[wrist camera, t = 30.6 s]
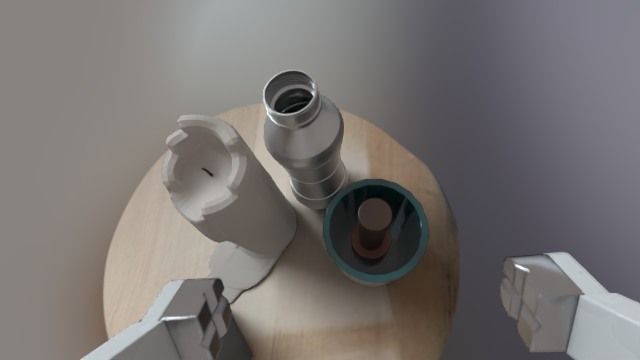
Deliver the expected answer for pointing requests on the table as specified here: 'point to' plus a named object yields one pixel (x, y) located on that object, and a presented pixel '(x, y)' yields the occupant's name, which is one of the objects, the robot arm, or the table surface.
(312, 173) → the silver metal bottle
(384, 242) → the rod with orange collar
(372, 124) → the table surface
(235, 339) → the stand
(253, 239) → the candle
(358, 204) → the teal cup
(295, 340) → the table surface
